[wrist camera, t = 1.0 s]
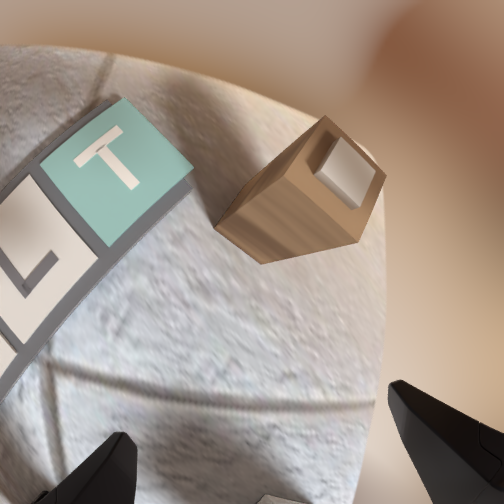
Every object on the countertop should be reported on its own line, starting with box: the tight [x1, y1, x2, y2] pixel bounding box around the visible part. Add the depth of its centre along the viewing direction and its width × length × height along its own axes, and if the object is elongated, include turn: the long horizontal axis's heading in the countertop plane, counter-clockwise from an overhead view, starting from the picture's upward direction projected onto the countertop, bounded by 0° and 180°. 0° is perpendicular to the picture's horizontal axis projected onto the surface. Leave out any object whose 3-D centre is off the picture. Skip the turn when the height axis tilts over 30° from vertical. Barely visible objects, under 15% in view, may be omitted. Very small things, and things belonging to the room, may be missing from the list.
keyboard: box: [0, 97, 194, 405], centre depth 16 cm, size 26×10×2 cm, turn 137°
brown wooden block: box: [214, 115, 386, 264], centre depth 18 cm, size 4×4×12 cm
